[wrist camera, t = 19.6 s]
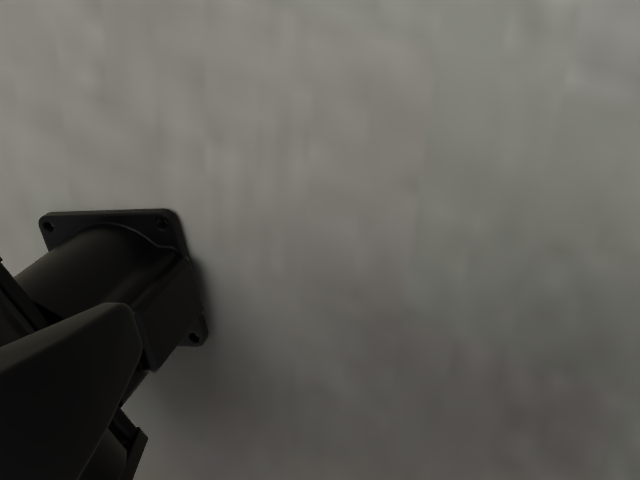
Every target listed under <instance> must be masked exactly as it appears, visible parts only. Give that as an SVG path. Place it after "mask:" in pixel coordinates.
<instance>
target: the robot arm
mask: <svg viewBox="0 0 640 480" xmlns="http://www.w3.org/2000/svg"><path fill="white" fill-rule="evenodd" d="M161 219H164V220H165V221H166V222H167V225H165V224H163V223H162V221H161ZM50 223H51V224H52V225H53V226H54V227H53V226H51V224H50ZM39 228H40V230H41V233H42V236H43V238H44V241H45V243H46V246H47V248H48V251H49V253H47V254H46V255H44V256H43V257H42V258H40V259H39V260H37V261H36V262H35V263H33V264H32V265H30V266H29V267H28V268H26V269H25V270H23V271H22V272H21V273H19V274H18V275H16V276H15V277H14V278H13V277H12V275H11V274H10V273H9V272H8V271H7V269H6V268H5V267H4V266H3V264H2V263H1V261H2V258H1V257H0V480H133V477H134V474H135V472H136V469H137V467H138V464H139V461H140V459H141V456H142V454H143V451H144V448H145V446H146V443H147V441H148V437H147V436H146V435H145V434H144V432H143V431H142V430H141V429H140V427H135V426H134V424H133V423H132V422H131V421H130V420H129V418H128V417H127V416H126V415H125V413H124V412H123V411H122V410H121V409H120V408H121V407H122V406H123V405H124V403H125V402H126V401H127V399H128V398H129V397H130V396H131V394H132V393H133V392H134V391H135V389H136V388H137V387H138V386H139V384H140V383H141V382H142V380H143V379H144V378H145V377H146V375H147V374H148V373H149V372H152V373H155V372H156V371H158V369H159V368H160V367H161V366H162V364H163V363H164V362H165V361H166V359H167V358H168V357H169V355H170V354H171V353H172V351H173V350H174V349H175V348H176V346H191V347H198V346H202V345H203V344H204V343H205V341H206V340H207V338H208V330H207V326H206V322H205V319H204V315H203V310H204V309H203V305H202V302H201V298H200V294H199V291H198V287H197V283H196V279H195V276H194V272H193V268H192V265H191V262H190V260H189V259H188V257H187V253H186V249H185V246H184V242H183V238H182V235H181V231H180V227H179V224H178V220H177V218H176V216H175V214H174V213H173V212H172V211H170V210H168V209H135V210H105V211H75V212H50V213H47V214H46V215H44V216H42V217H41V218H40V219H39ZM194 333H196V334H197V335H198V336H199V337H198V336H196V335H194Z"/></svg>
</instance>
